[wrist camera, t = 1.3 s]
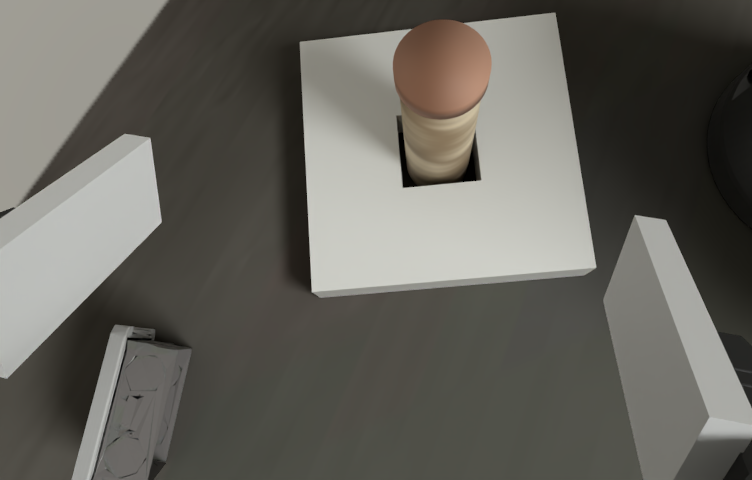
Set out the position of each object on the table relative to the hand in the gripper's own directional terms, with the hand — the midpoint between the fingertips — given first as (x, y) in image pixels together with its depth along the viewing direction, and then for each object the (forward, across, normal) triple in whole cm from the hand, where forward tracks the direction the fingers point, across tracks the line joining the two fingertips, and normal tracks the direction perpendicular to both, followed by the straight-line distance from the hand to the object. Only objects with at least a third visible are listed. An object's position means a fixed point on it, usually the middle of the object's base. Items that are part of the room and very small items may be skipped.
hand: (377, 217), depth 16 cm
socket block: (+25, 0, -10) cm, 27 cm away
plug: (+25, 0, -10) cm, 27 cm away
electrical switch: (+12, -15, -24) cm, 31 cm away
